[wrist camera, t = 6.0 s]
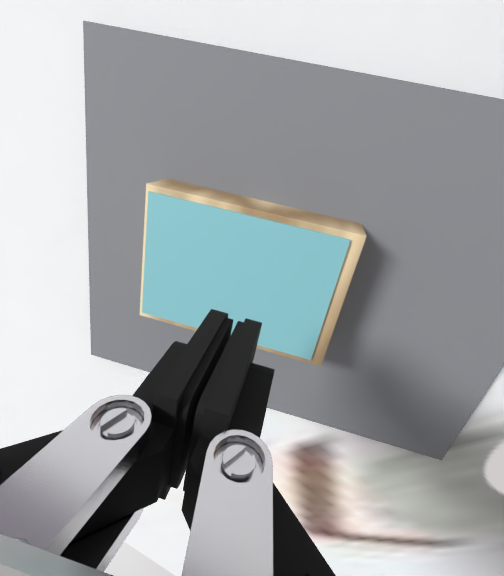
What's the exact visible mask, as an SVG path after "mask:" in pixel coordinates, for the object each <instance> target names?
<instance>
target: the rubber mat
mask: <svg viewBox="0 0 504 576" xmlns="http://www.w3.org/2000/svg"><path fill="white" fill-rule="evenodd" d="M83 30H84V72H85V114H86V156H87V198H88V240H89V282H90V325H91V355H95V356H98V357H101V358H104V359H108V360H111V361H114V362H118V363H121V364H124V365H128V366H131V367H134V368H138V369H141V370H144V371H148V372H151V371H152V370H153V368H154V367H155V366H156V364H157V363H158V362H159V360H160V359H161V358H162V356H163V355H164V354H165V352H166V351H167V350H168V349H169V347H170V346H171V345H172V344H173V342H175V341H178V342H181V343H185V344H188V342H189V341H190V339H191V338H192V336H193V335H194V333H195V332H196V331H194V330H191V329H187V328H184V327H180V326H177V325H173V324H169V323H166V322H162V321H159V320H155V319H152V318H148V317H145V316H141V315H140V296H141V277H142V257H143V237H144V217H145V198H146V183H151V182H155V181H160V180H164V179H173V180H177V181H181V182H186V183H190V184H194V185H198V186H203V187H207V188H211V189H215V190H220V191H224V192H228V193H232V194H237V195H241V196H245V197H250V198H254V199H258V200H262V201H267V202H271V203H275V204H279V205H284V206H288V207H292V208H296V209H301V210H305V211H309V212H313V213H318V214H322V215H326V216H330V217H335V218H339V219H343V220H347V221H352V222H356V223H360V224H362V227H363V229H364V231H365V233H366V236H367V237H366V239H365V242H364V245H363V248H362V251H361V254H360V256H359V259H358V262H357V265H356V268H355V271H354V273H353V276H352V279H351V282H350V285H349V288H348V290H347V293H346V296H345V299H344V302H343V305H342V307H341V310H340V313H339V316H338V319H337V322H336V325H335V327H334V330H333V333H332V336H331V339H330V342H329V344H328V347H327V350H326V353H325V356H324V359H323V361H322V364H321V366H318V365H314V364H311V363H307V362H304V361H300V360H297V359H293V358H290V357H286V356H282V355H279V354H275V353H272V352H268V351H265V350H261V349H258V348H256V351H255V356H254V360H253V363H255V364H258V365H262V366H265V367H269V368H272V369H275V371H274V376H273V380H272V385H271V390H270V394H269V399H268V403H267V408H270V409H274V410H277V411H280V412H284V413H287V414H290V415H294V416H297V417H300V418H304V419H307V420H310V421H314V422H317V423H320V424H323V425H327V426H330V427H333V428H337V429H340V430H343V431H347V432H350V433H353V434H357V435H360V436H363V437H367V438H370V439H373V440H377V441H380V442H383V443H387V444H390V445H393V446H396V447H400V448H403V449H406V450H410V451H413V452H416V453H420V454H423V455H426V456H430V457H433V458H436V459H440V460H442V459H443V457H444V456H445V454H446V452H447V451H448V449H449V448H450V446H451V445H452V443H453V442H454V440H455V439H456V437H457V436H458V434H459V433H460V431H461V429H462V428H463V426H464V425H465V423H466V422H467V420H468V419H469V417H470V416H471V414H472V413H473V411H474V409H475V408H476V406H477V405H478V403H479V402H480V400H481V399H482V397H483V396H484V394H485V393H486V391H487V389H488V388H489V386H490V385H491V383H492V382H493V380H494V379H495V377H496V376H497V374H498V373H499V371H500V369H501V368H502V366H503V365H504V100H503V99H498V98H493V97H487V96H482V95H477V94H471V93H466V92H461V91H455V90H450V89H445V88H439V87H434V86H429V85H423V84H418V83H413V82H407V81H402V80H397V79H391V78H386V77H381V76H375V75H370V74H365V73H359V72H354V71H349V70H343V69H338V68H333V67H327V66H322V65H317V64H311V63H306V62H301V61H295V60H290V59H285V58H279V57H274V56H269V55H263V54H258V53H253V52H247V51H242V50H237V49H232V48H226V47H221V46H216V45H210V44H205V43H200V42H194V41H189V40H184V39H178V38H173V37H168V36H162V35H157V34H152V33H146V32H141V31H136V30H130V29H125V28H120V27H114V26H109V25H104V24H98V23H93V22H88V21H83Z"/></svg>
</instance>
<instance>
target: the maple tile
mask: <svg viewBox="0 0 504 576" xmlns="http://www.w3.org/2000/svg"><path fill="white" fill-rule="evenodd" d="M366 237H367V236H366V233H365V231H364V229H363V227H362V224H360V223H356V222H352V221H347V220H343V219H339V218H335V217H330V216H326V215H322V214H318V213H313V212H309V211H305V210H301V209H296V208H292V207H288V206H284V205H279V204H275V203H271V202H267V201H262V200H258V199H254V198H250V197H245V196H241V195H237V194H232V193H228V192H224V191H220V190H215V189H211V188H207V187H203V186H198V185H194V184H190V183H186V182H181V181H177V180H173V179H164V180H160V181H155V182H151V183H146V198H145V217H144V237H143V257H142V277H141V296H140V315H141V316H145V317H148V318H152V319H155V320H159V321H162V322H166V323H169V324H173V325H177V326H180V327H184V328H187V329H191V330H194V331H196V330H197V329H198V327H199V326H200V325H201V323H202V322H203V320H204V319H205V317H206V316H207V314H208V313H209V311H210V310H211V309H214V310H218V311H221V312H225V313H228V318H230V319H233V326H232V331H231V334H232V332H233V330H234V328H235V326H236V324H237V322H238V321H241V322H244V321H245V319H246V318H247V319H250V320H254V321H258V322H261V323H262V326H261V331H260V335H259V339H258V343H257V347H256V348H258V349H261V350H265V351H268V352H272V353H275V354H279V355H282V356H286V357H290V358H293V359H297V360H300V361H304V362H307V363H311V364H314V365H318V366H321V364H322V361H323V359H324V356H325V353H326V350H327V347H328V344H329V342H330V339H331V336H332V333H333V330H334V327H335V325H336V322H337V319H338V316H339V313H340V310H341V307H342V305H343V302H344V299H345V296H346V293H347V290H348V288H349V285H350V282H351V279H352V276H353V273H354V271H355V268H356V265H357V262H358V259H359V256H360V254H361V251H362V248H363V245H364V242H365V239H366Z"/></svg>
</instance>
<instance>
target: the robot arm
mask: <svg viewBox="0 0 504 576" xmlns="http://www.w3.org/2000/svg"><path fill="white" fill-rule="evenodd" d="M232 326H233V319H230V318H228V313H225V312H221V311H218V310H214V309H211V310H210V311H209V313H208V314H207V316H206V317H205V319H204V320H203V322H202V323H201V325H200V326H199V327H198V329H197V330H196V332H195V333H194V335H193V336H192V338H191V339H190V341H189V342H188V344H185V343H181V342H178V341H175V342H173V344H172V345H171V346H170V347H169V349H168V350H167V351H166V352H165V354H164V355H163V356H162V358H161V359H160V360H159V362H158V363H157V364H156V366H155V367H154V368H153V370H152V371H151V372H150V373H149V375H148V376H147V377H146V379H145V380H144V381H143V383H142V384H141V385H140V387H139V388H138V389H137V391H136V392H135V393H134V394H133V396H131V395H116V396H110V397H107V398H105V399H102V400H100V401H98V402H97V403H95V404H94V405H92V406H91V407H90V408H89V409H88V410H86V411H85V412H84V413H83V414H82V415H81V416H80V417H78V418H77V419H76V420H75V421H74V422H73V423H71V424H70V425H69V426H68V427H67V428H66V429H65V430H62V431H59V432H55V433H52V434H49V435H45V436H42V437H39V438H35V439H32V440H29V441H25V442H22V443H19V444H15V445H12V446H8V447H5V448H2V449H0V576H113V575H109V574H107V573H104V570H105V569H106V568H107V566H108V565H109V563H110V562H111V560H112V558H113V557H114V556H115V554H116V553H117V551H118V550H119V548H120V546H121V545H122V543H123V542H124V541H125V539H126V538H127V536H128V535H129V533H130V532H131V530H132V528H133V527H134V525H135V524H136V522H137V521H138V519H139V518H140V516H141V513H142V511H143V508H144V507H146V506H149V505H151V504H153V503H155V502H157V500H158V498H161V499H164V500H165V499H166V496H167V494H168V492H169V490H170V487H173V488H176V489H177V488H178V487H179V485H180V482H181V480H182V478H183V475H184V473H185V471H186V474H185V481H184V487H183V491H185V493H184V499H183V505H182V512H183V514H184V517H185V519H186V522H187V524H188V526H189V529H190V531H191V532H190V537H189V542H188V547H187V552H186V557H185V562H184V567H183V571H182V576H335V574H334V573H333V571H332V570H331V568H330V567H329V565H328V564H327V562H326V561H325V559H324V558H323V556H322V555H321V553H320V552H319V550H318V549H317V547H316V546H315V544H314V543H313V541H312V540H311V538H310V537H309V535H308V534H307V532H306V531H305V529H304V528H303V526H302V525H301V523H300V522H299V521H298V519H297V518H296V516H295V515H294V513H293V512H292V510H291V509H290V507H289V506H288V504H287V503H286V501H285V500H284V498H283V497H282V495H281V494H280V492H279V491H278V489H277V488H276V486H275V485H274V483H273V463H272V457H271V453H270V451H269V449H268V447H267V445H266V444H265V443H264V442H263V441H262V440H261V439H260V435H261V430H262V426H263V421H264V417H265V412H266V408H267V403H268V399H269V394H270V390H271V385H272V380H273V376H274V371H275V369H272V368H269V367H265V366H262V365H258V364H255V363H253V360H254V356H255V351H256V347H257V343H258V339H259V335H260V331H261V326H262V323H261V322H258V321H254V320H250V319H247V318H246V319H245V321H244V322H241V321H238V322H237V324H236V326H235V328H234V330H233V332H232V334H231V331H232Z"/></svg>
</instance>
